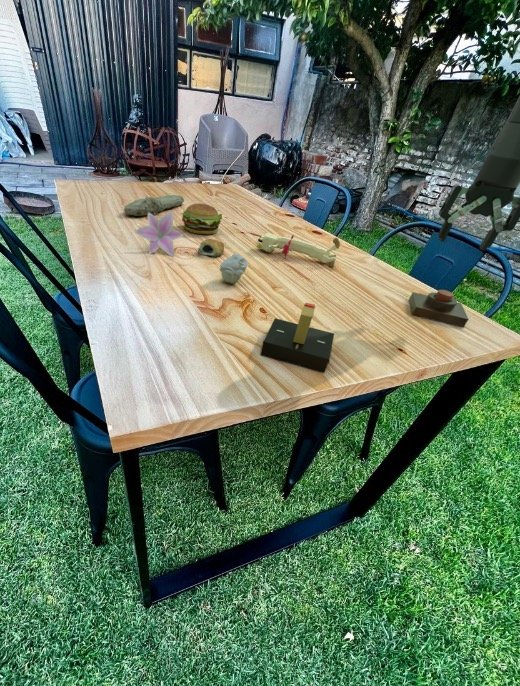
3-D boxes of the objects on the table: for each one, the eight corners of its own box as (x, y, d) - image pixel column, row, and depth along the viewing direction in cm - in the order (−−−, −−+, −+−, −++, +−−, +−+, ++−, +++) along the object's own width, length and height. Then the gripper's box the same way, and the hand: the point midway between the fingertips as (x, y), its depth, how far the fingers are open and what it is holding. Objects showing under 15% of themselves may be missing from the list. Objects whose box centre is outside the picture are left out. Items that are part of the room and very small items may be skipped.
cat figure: (332, 263, 112) (258, 241, 114) (343, 235, 106) (265, 213, 108) (330, 274, 104) (252, 250, 107) (342, 244, 98) (259, 220, 101)
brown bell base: (456, 310, 90) (464, 296, 88) (463, 327, 83) (473, 312, 80) (408, 299, 93) (415, 285, 90) (411, 315, 85) (419, 299, 83)
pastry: (209, 245, 108) (210, 232, 106) (228, 250, 107) (230, 237, 104) (196, 253, 101) (197, 240, 99) (217, 259, 100) (219, 245, 97)
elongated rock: (190, 208, 146) (169, 205, 149) (190, 194, 143) (169, 190, 146) (140, 218, 120) (117, 214, 123) (139, 201, 117) (115, 197, 120)
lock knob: (303, 344, 63) (312, 315, 59) (292, 341, 63) (301, 313, 59) (307, 332, 66) (315, 304, 63) (297, 329, 67) (305, 301, 63)
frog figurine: (248, 286, 88) (253, 258, 83) (224, 288, 85) (228, 260, 80) (237, 276, 92) (241, 249, 87) (213, 279, 89) (216, 251, 84)
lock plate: (329, 346, 69) (334, 332, 67) (324, 373, 62) (329, 358, 60) (271, 331, 71) (275, 317, 69) (260, 355, 64) (263, 340, 62)
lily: (130, 251, 100) (131, 225, 91) (150, 226, 104) (153, 199, 96) (167, 272, 100) (171, 248, 92) (185, 247, 105) (191, 221, 97)
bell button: (448, 298, 86) (452, 291, 85) (451, 304, 84) (455, 297, 83) (433, 295, 87) (437, 288, 86) (435, 300, 84) (439, 293, 83)
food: (175, 232, 115) (175, 205, 110) (187, 222, 125) (188, 197, 120) (215, 239, 114) (217, 212, 108) (224, 228, 124) (226, 204, 119)
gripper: (475, 150, 63) (430, 242, 74) (561, 164, 61) (501, 257, 72) (466, 147, 69) (425, 233, 79) (544, 160, 67) (491, 247, 77)
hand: (461, 244), depth 76 cm, fingers open, 8 cm apart
